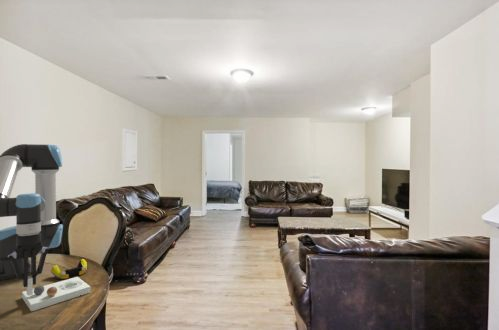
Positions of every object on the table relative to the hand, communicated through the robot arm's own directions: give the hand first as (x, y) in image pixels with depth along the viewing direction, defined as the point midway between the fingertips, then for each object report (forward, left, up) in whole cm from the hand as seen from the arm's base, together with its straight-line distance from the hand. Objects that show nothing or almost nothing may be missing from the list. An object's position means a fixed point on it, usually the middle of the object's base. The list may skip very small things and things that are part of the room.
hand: (29, 293), depth 108 cm
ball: (0, +3, 0) cm, 3 cm away
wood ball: (+6, +6, 0) cm, 8 cm away
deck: (0, +9, -4) cm, 10 cm away
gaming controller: (-20, +20, -4) cm, 29 cm away
